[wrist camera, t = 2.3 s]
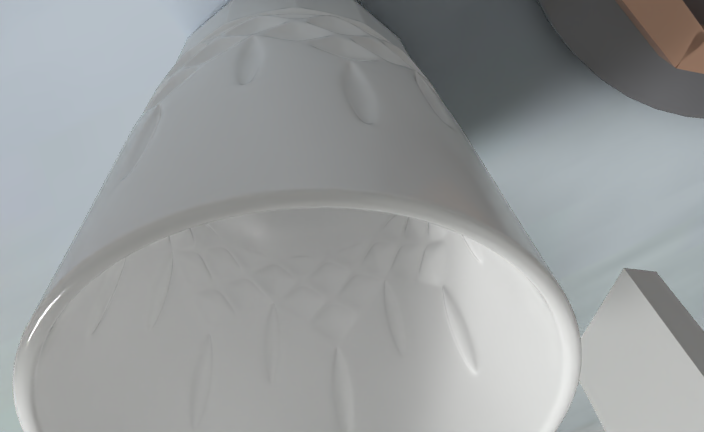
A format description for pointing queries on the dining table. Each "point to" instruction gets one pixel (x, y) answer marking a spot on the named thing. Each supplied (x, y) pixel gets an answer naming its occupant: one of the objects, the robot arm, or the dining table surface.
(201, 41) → the white cup
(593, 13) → the trivet
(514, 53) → the dining table surface
